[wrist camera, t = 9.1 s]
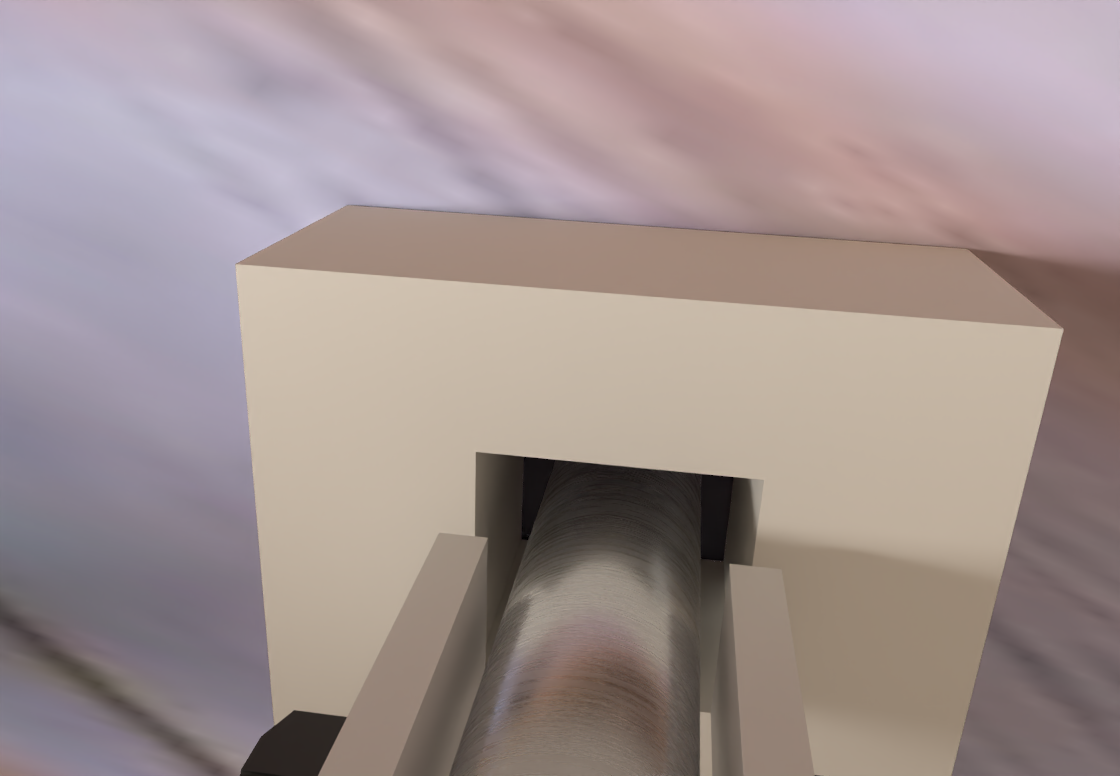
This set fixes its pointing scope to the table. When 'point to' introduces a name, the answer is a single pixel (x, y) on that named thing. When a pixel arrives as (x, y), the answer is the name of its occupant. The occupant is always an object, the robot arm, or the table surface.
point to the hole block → (648, 438)
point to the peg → (598, 634)
